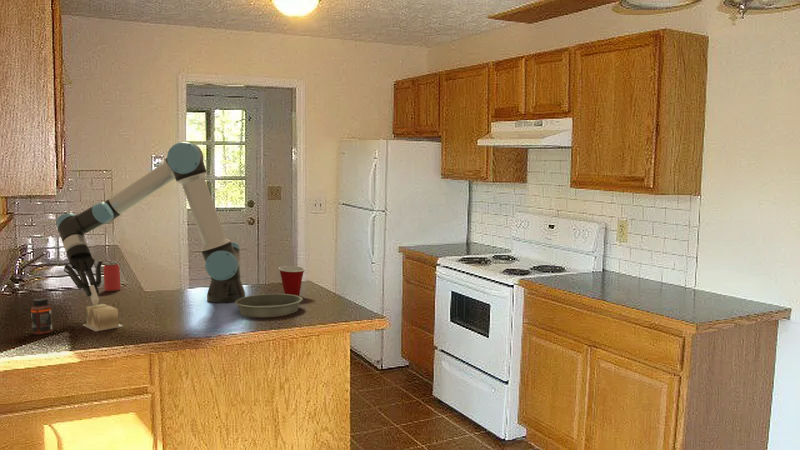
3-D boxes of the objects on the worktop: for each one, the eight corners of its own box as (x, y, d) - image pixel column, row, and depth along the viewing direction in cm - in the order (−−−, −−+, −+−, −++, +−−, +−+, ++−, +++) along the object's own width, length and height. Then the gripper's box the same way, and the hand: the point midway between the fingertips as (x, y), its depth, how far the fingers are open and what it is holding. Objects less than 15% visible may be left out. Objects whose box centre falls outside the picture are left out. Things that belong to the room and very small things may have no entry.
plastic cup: (298, 299, 270) (297, 270, 269) (274, 298, 273) (273, 269, 272) (310, 294, 280) (309, 266, 279) (287, 293, 284) (286, 265, 282)
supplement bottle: (57, 331, 224) (54, 297, 222) (42, 335, 218) (40, 301, 217) (43, 330, 225) (41, 296, 224) (28, 334, 220) (25, 300, 219)
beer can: (101, 291, 295) (99, 264, 294) (112, 288, 301) (111, 262, 300) (112, 292, 292) (111, 264, 291) (124, 289, 299) (122, 262, 297)
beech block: (85, 306, 232) (99, 311, 222) (103, 303, 236) (117, 309, 227) (86, 323, 232) (100, 329, 223) (104, 320, 236) (118, 326, 227)
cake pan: (307, 315, 242) (307, 303, 241) (237, 321, 235) (236, 308, 235) (297, 302, 265) (297, 291, 265) (233, 307, 258) (233, 295, 258)
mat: (82, 325, 231) (82, 324, 231) (109, 321, 237) (109, 319, 237) (95, 331, 222) (95, 330, 222) (122, 326, 229) (122, 325, 229)
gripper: (93, 255, 249) (112, 306, 239) (56, 258, 241) (74, 311, 230) (98, 242, 245) (117, 293, 234) (59, 245, 236) (78, 298, 226)
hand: (96, 302), depth 232 cm, fingers closed
